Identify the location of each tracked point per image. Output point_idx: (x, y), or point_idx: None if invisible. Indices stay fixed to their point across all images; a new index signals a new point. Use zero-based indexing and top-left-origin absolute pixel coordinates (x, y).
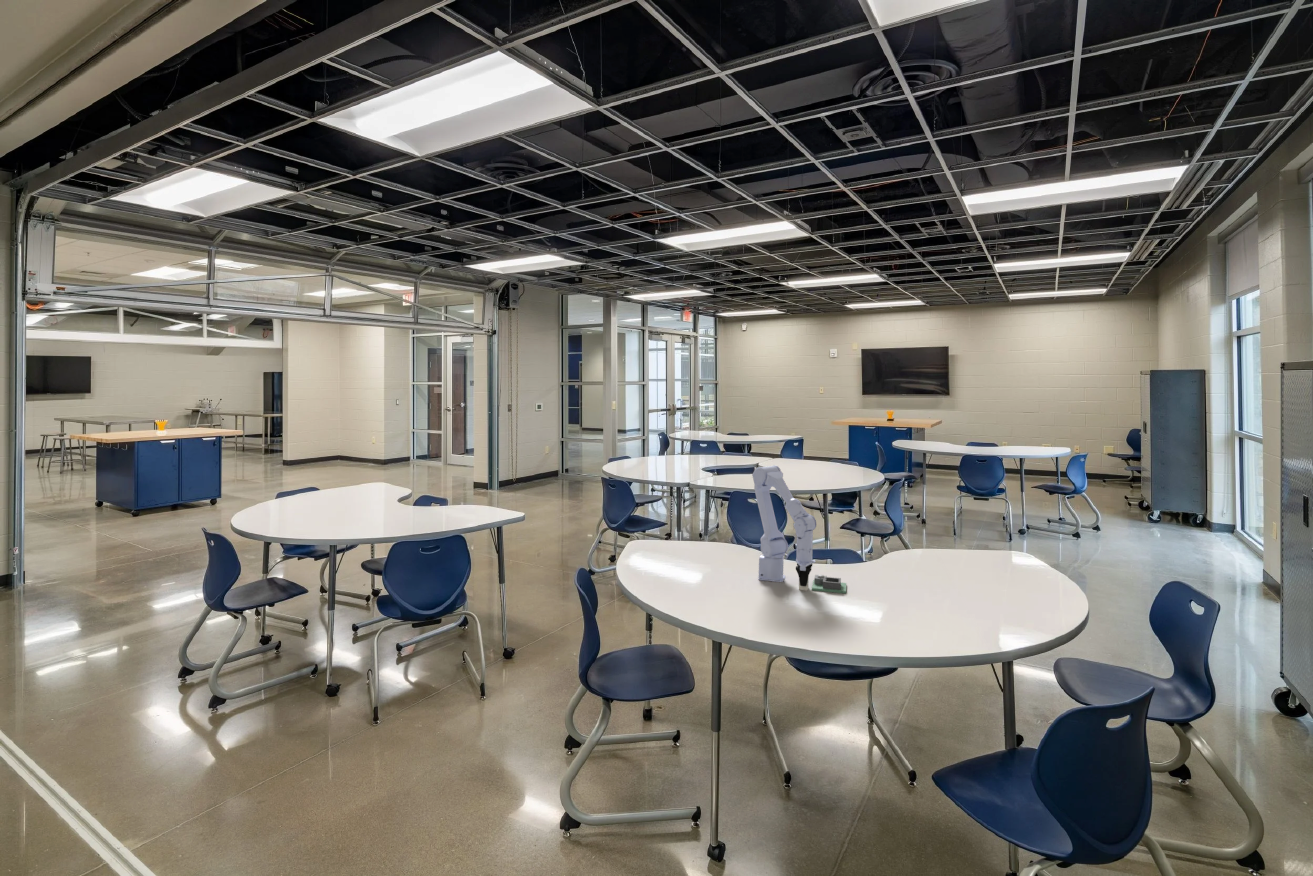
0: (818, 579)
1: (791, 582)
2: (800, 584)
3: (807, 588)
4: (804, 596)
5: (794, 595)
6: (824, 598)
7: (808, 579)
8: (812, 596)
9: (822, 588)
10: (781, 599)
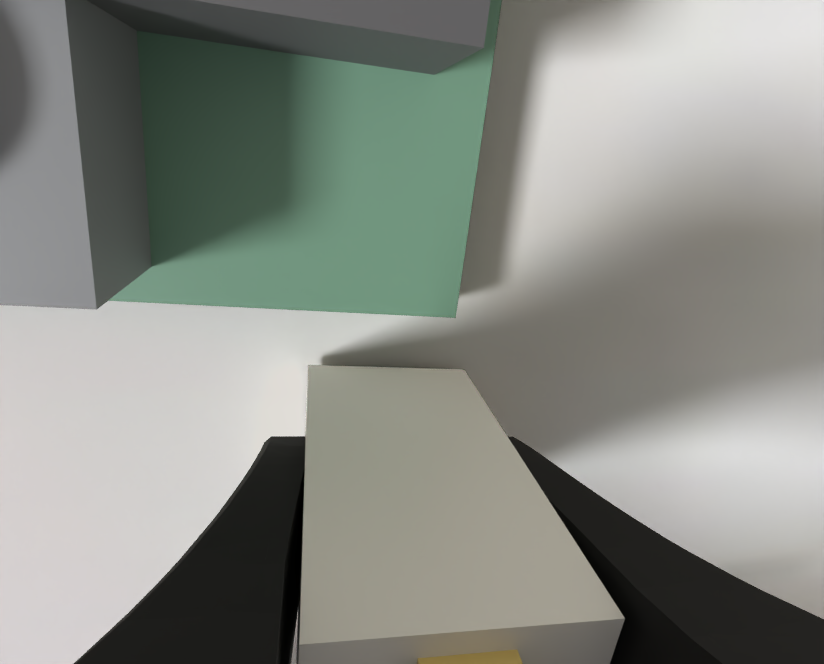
0: (96, 178)
1: (67, 624)
2: None
3: (470, 390)
4: (706, 399)
5: (667, 517)
6: (811, 87)
7: (324, 460)
8: (710, 289)
9: (446, 86)
10: None
